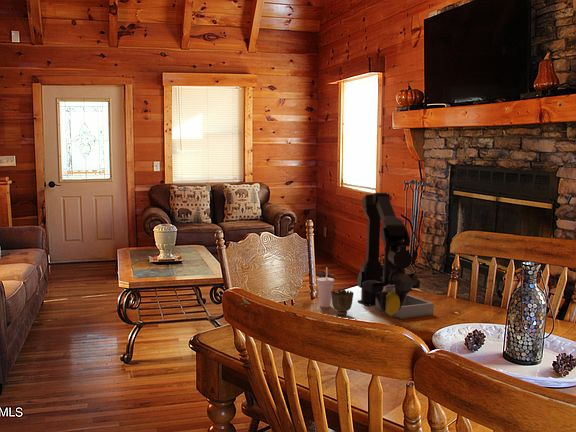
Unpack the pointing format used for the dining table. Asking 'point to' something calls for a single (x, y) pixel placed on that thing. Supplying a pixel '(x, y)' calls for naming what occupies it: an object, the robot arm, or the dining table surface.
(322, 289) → the smoothie
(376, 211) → the robot arm
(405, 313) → the bin
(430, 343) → the dining table surface
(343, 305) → the cup
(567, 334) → the dining table surface
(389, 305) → the lemon
